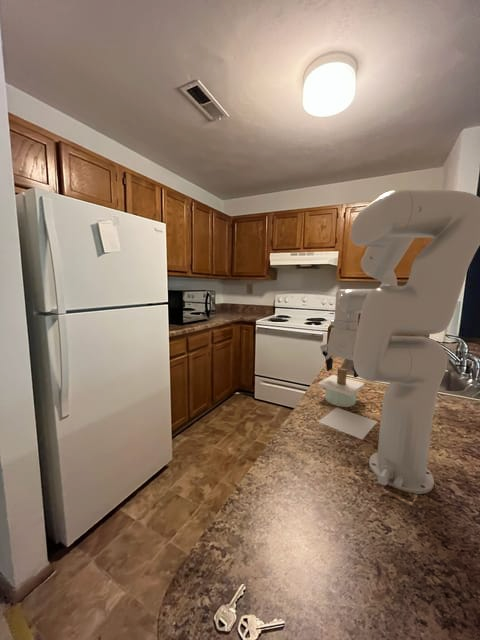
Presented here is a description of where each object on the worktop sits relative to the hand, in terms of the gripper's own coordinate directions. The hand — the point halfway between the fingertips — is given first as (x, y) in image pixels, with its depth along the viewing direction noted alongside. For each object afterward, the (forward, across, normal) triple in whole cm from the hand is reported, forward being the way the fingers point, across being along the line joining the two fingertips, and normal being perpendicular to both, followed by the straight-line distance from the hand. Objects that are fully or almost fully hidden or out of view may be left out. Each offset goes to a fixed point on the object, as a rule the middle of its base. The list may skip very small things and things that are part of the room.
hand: (342, 373), depth 95 cm
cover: (+5, 0, 0) cm, 5 cm away
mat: (+11, +8, -13) cm, 18 cm away
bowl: (+11, 0, 0) cm, 11 cm away
